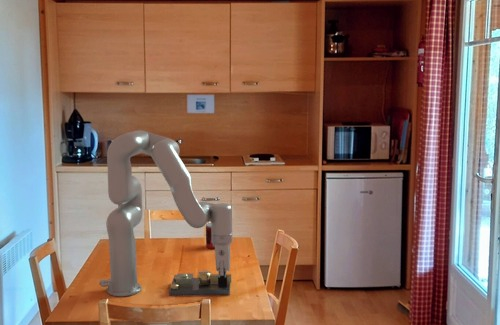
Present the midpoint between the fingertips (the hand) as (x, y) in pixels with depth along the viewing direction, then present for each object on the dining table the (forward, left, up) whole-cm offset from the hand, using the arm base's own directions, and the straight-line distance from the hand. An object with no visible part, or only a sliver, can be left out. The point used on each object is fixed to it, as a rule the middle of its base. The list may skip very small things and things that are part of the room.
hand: (222, 286), depth 207 cm
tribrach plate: (-8, +6, -3) cm, 11 cm away
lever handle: (-3, +7, -1) cm, 7 cm away
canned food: (-6, +60, -3) cm, 61 cm away
